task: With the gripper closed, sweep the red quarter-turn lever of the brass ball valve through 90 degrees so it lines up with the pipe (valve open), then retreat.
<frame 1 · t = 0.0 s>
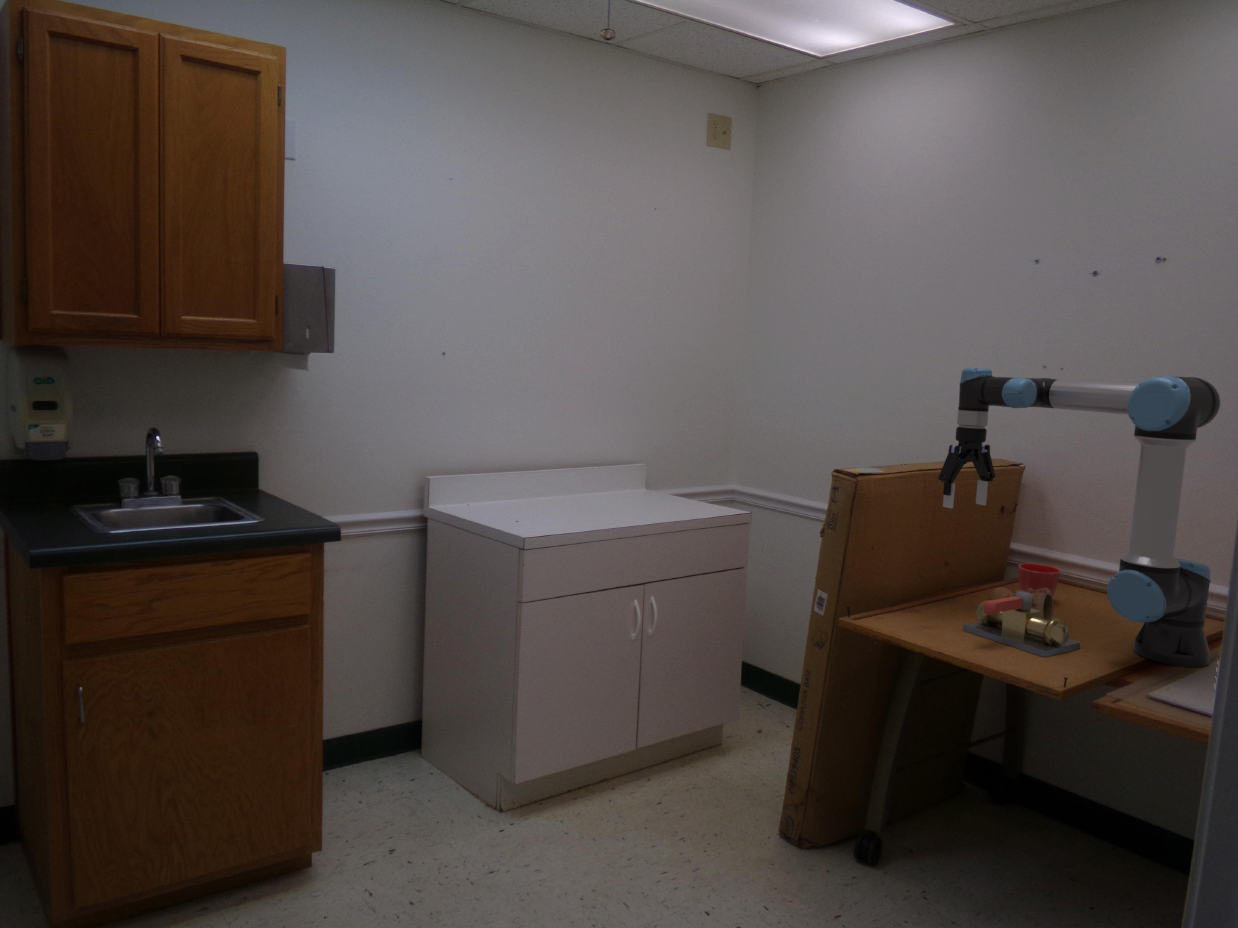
hand: (964, 506, 242), 28 cm above the table, fingers open, 13 cm apart
valve: (1019, 639, 220), on the table
lever: (1007, 603, 215), point 10 cm above the table, hinge at 0.0°
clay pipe: (1021, 623, 235), on the table
flower pot: (1036, 601, 256), on the table
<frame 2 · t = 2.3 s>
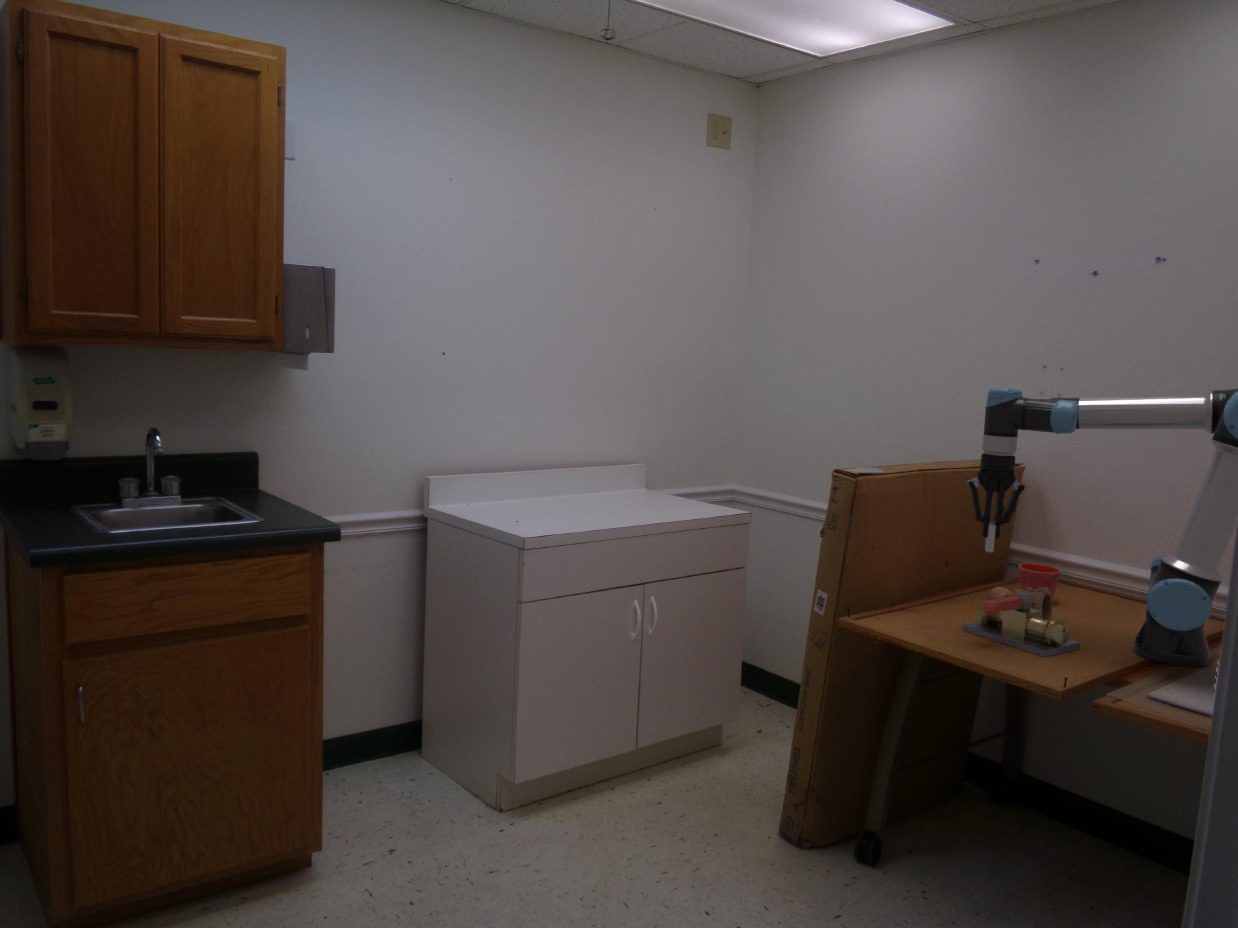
hand: (989, 550, 218), 21 cm above the table, fingers closed
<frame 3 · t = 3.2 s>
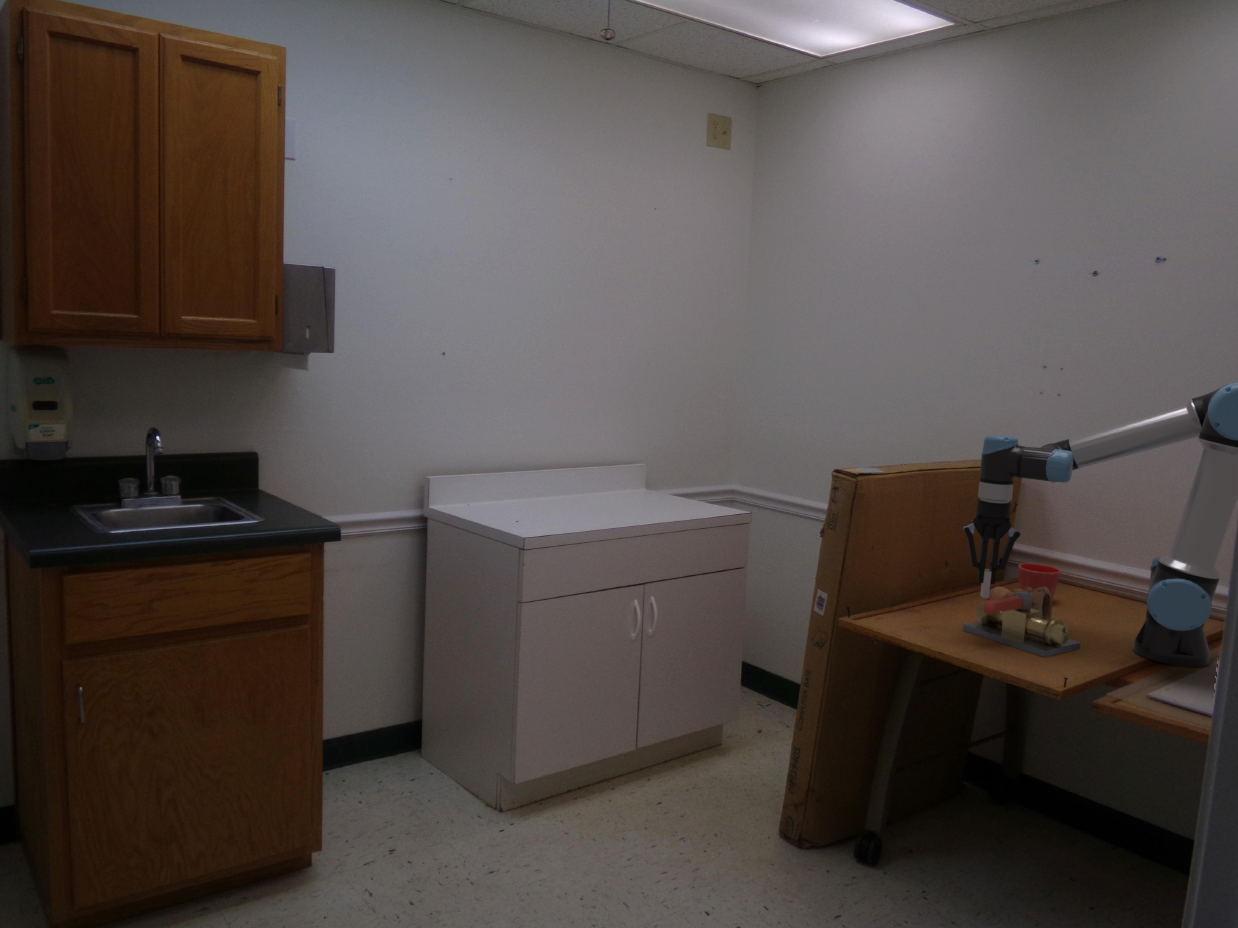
hand: (984, 596, 219), 10 cm above the table, fingers closed
nothing on the table moved.
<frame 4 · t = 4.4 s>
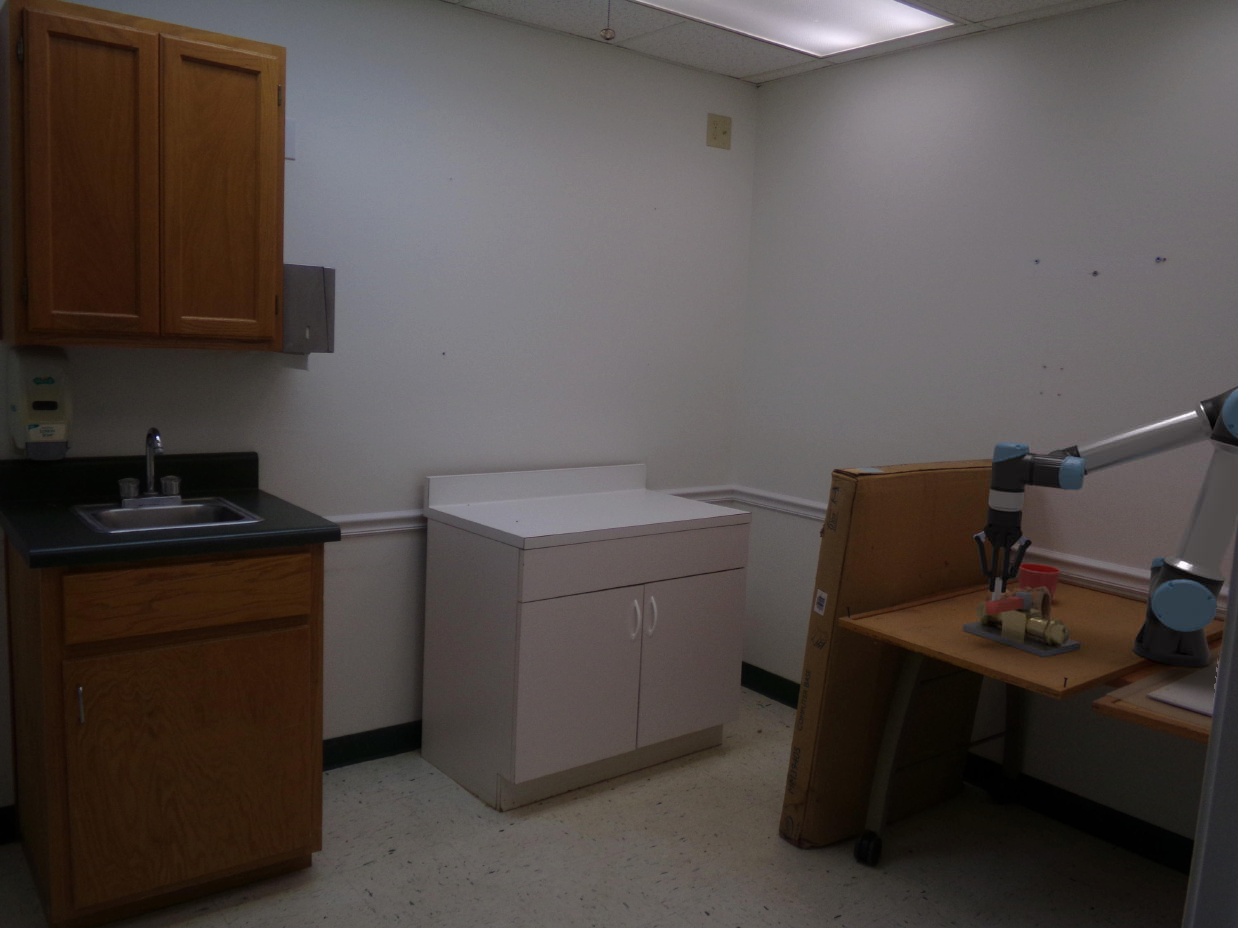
hand: (995, 605, 217), 9 cm above the table, fingers closed
lever: (1008, 603, 215), point 10 cm above the table, hinge at 2.4°, touching gripper
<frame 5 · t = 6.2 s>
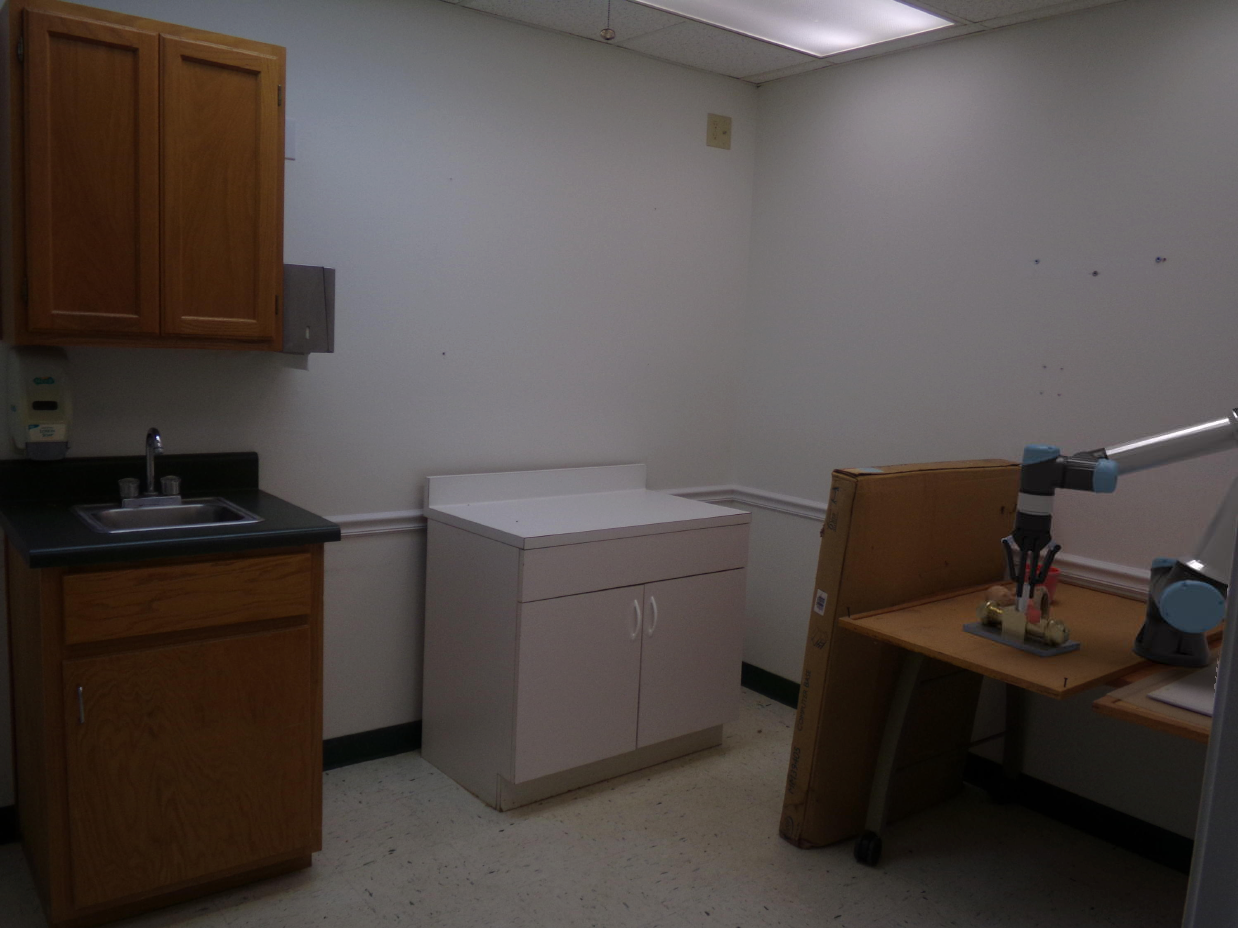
hand: (1022, 611, 211), 9 cm above the table, fingers closed
lever: (1028, 607, 213), point 10 cm above the table, hinge at 44.2°, touching gripper
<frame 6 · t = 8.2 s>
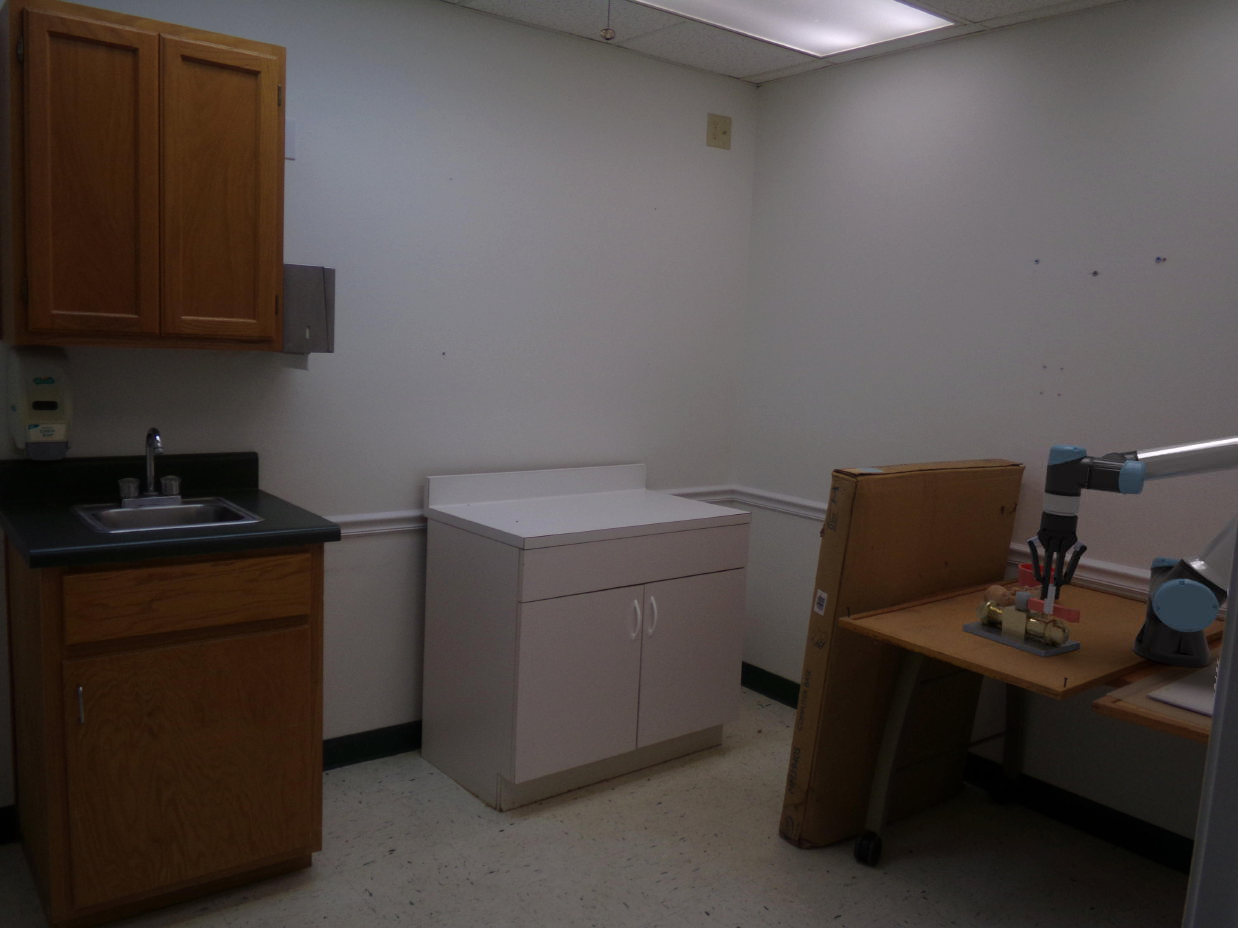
hand: (1047, 612, 211), 9 cm above the table, fingers closed
lever: (1046, 607, 213), point 10 cm above the table, hinge at 87.9°, touching gripper
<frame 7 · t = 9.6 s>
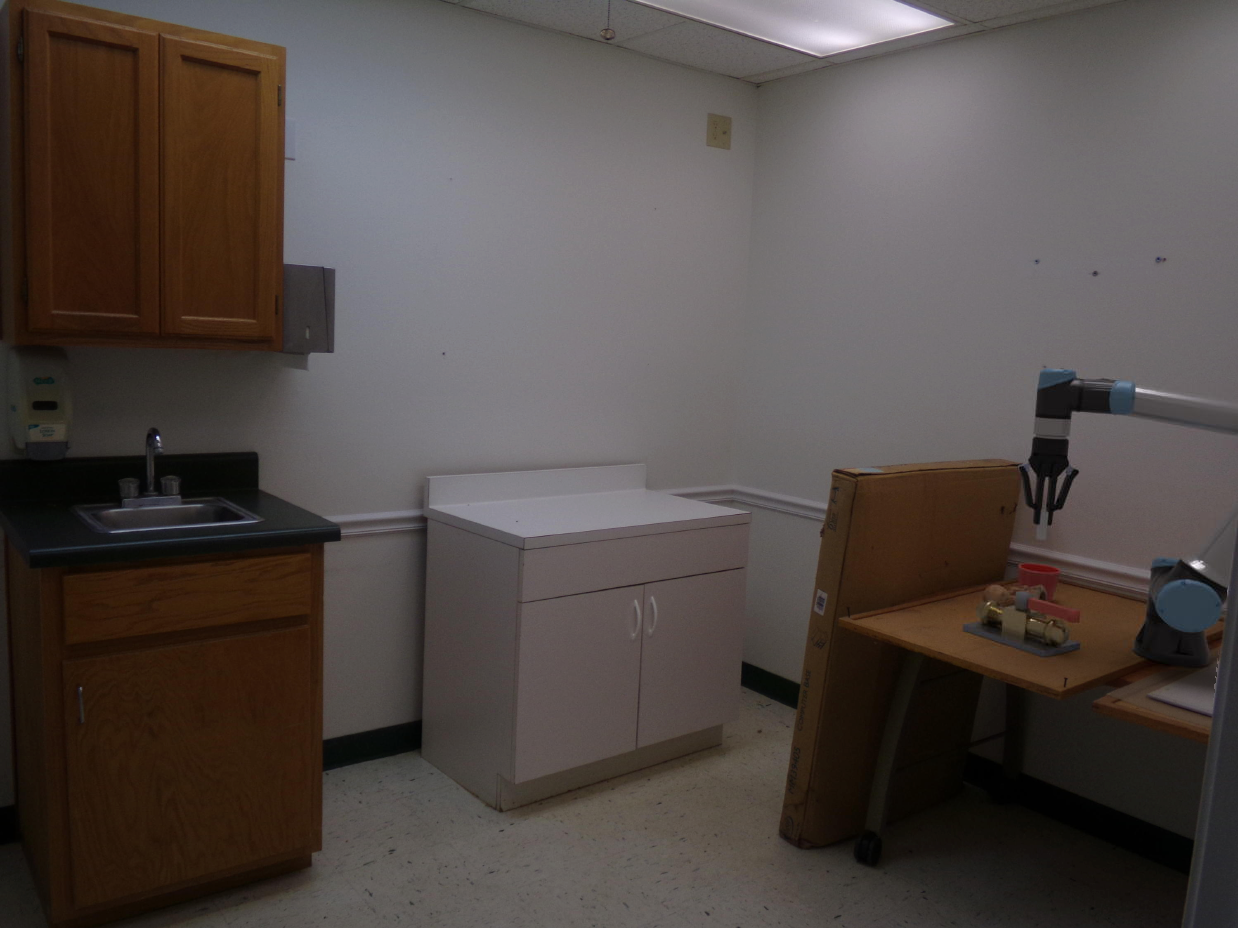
hand: (1040, 538, 209), 26 cm above the table, fingers closed
lever: (1046, 607, 213), point 10 cm above the table, hinge at 87.9°
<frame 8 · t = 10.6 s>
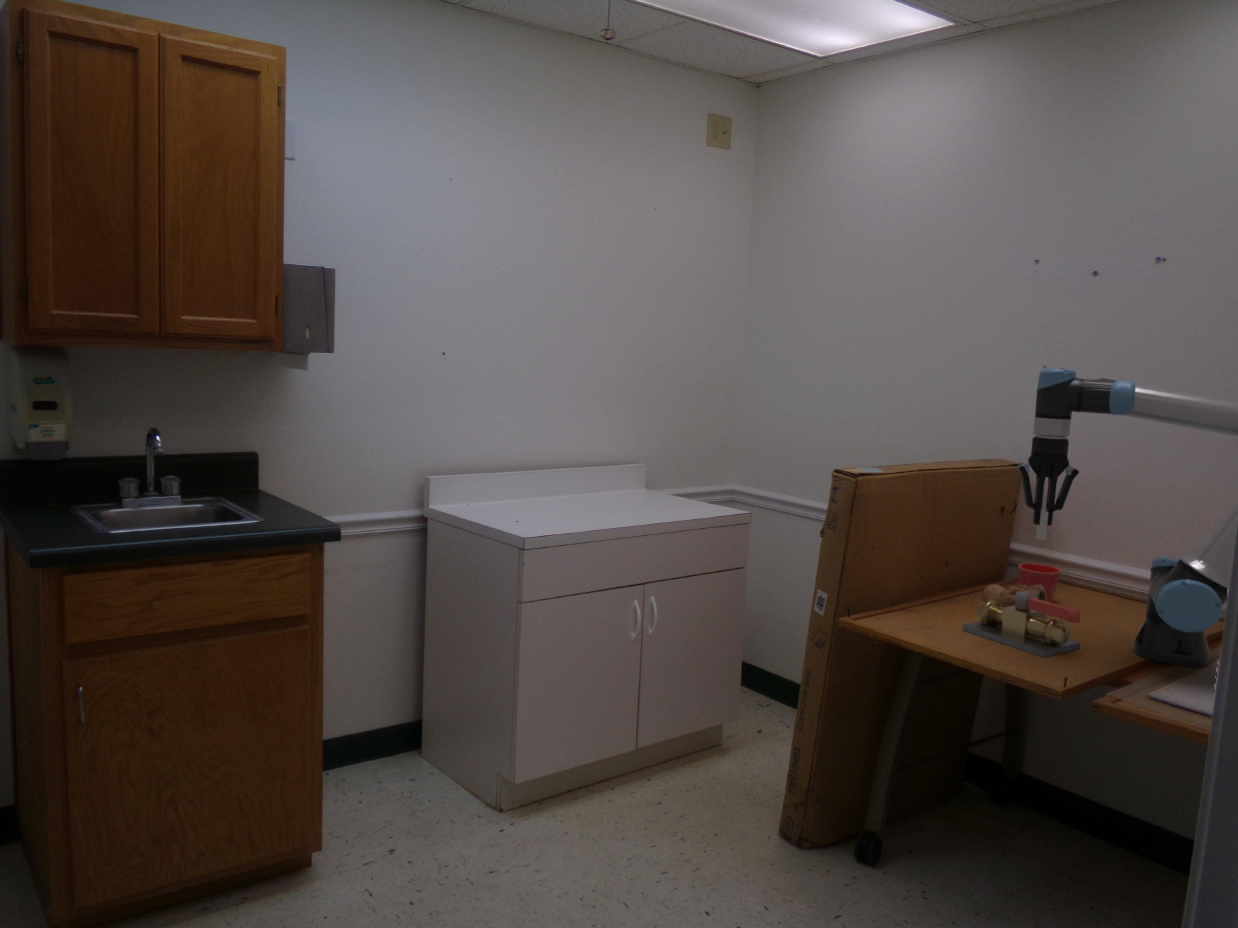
hand: (1040, 538, 209), 26 cm above the table, fingers closed
at the end: lever at +88° (first picture: +0°) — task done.
